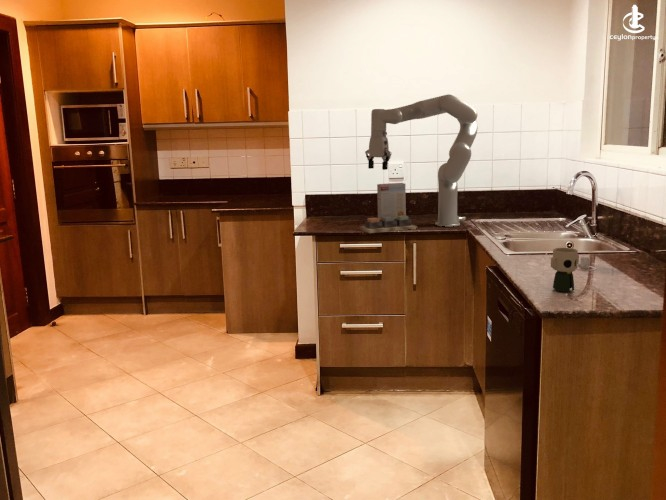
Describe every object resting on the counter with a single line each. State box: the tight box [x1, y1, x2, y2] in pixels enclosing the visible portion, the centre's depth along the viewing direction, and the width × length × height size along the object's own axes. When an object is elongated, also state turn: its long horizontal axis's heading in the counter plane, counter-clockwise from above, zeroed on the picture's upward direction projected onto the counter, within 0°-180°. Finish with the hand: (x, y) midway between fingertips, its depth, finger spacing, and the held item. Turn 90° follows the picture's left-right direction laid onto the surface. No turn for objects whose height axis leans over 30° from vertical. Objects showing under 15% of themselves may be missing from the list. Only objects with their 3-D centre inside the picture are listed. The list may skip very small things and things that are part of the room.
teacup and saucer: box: [576, 256, 597, 272], centre depth 223 cm, size 9×8×4 cm
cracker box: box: [376, 182, 407, 221], centre depth 330 cm, size 14×6×21 cm, turn 105°
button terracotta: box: [367, 217, 379, 223], centre depth 309 cm, size 4×4×3 cm
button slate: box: [382, 217, 394, 221], centre depth 312 cm, size 4×4×3 cm
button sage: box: [397, 215, 410, 220], centre depth 314 cm, size 4×4×3 cm
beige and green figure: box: [550, 247, 580, 293], centre depth 193 cm, size 11×7×13 cm, turn 114°
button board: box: [359, 218, 418, 234], centre depth 312 cm, size 26×12×4 cm, turn 110°
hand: (377, 168), depth 315 cm, fingers open, 9 cm apart
